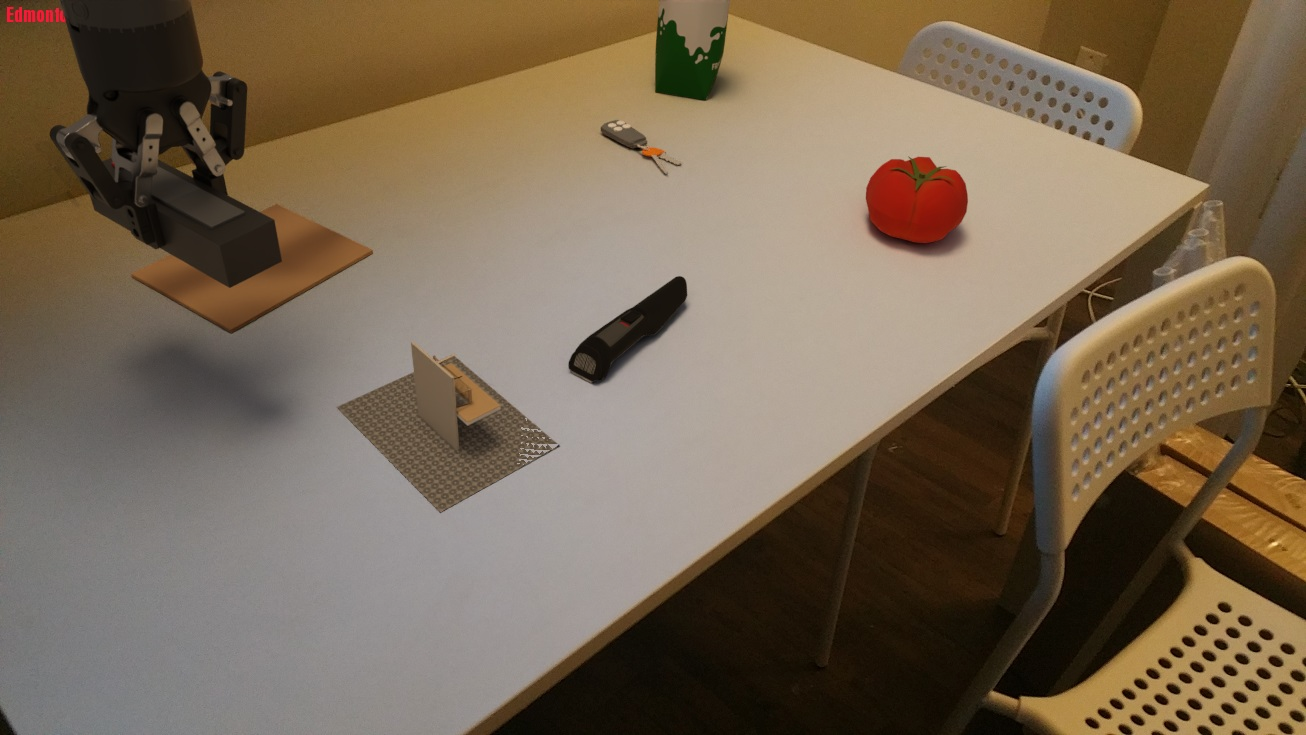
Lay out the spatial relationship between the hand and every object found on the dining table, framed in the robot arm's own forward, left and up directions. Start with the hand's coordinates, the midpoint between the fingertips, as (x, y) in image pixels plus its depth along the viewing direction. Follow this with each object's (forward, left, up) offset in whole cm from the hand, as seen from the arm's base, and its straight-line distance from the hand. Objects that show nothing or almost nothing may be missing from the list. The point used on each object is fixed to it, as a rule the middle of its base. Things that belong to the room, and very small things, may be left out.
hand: (184, 229), depth 74 cm
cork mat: (-11, +12, -14) cm, 22 cm away
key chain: (+4, +57, -14) cm, 59 cm away
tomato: (+37, +61, -14) cm, 73 cm away
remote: (0, 0, -1) cm, 1 cm away
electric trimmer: (+24, +25, -14) cm, 38 cm away
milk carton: (-2, +77, -14) cm, 79 cm away
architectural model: (+19, +6, -14) cm, 25 cm away
